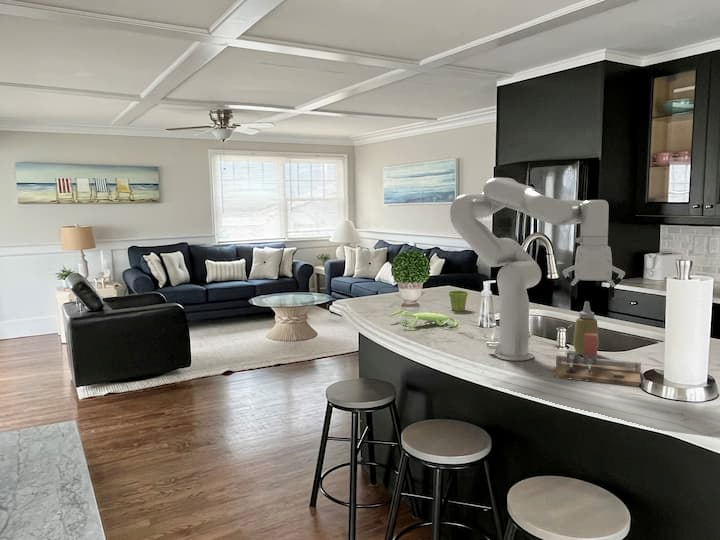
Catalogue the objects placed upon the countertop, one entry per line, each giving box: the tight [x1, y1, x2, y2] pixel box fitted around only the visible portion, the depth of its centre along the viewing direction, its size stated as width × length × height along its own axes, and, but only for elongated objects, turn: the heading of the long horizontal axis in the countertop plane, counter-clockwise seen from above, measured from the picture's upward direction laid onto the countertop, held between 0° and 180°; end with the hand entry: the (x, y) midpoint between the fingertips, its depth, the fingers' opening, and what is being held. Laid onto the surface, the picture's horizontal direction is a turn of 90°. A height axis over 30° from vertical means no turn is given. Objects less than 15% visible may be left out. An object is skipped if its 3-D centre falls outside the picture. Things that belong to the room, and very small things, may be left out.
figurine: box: [389, 310, 458, 331], centre depth 239 cm, size 18×27×6 cm
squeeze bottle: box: [572, 301, 600, 357], centre depth 187 cm, size 8×8×18 cm
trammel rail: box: [555, 350, 642, 373], centre depth 167 cm, size 24×9×4 cm, turn 66°
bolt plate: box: [553, 362, 642, 386], centre depth 167 cm, size 23×14×1 cm, turn 66°
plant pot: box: [448, 290, 469, 312], centre depth 267 cm, size 9×9×9 cm
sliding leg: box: [583, 333, 599, 373], centre depth 167 cm, size 4×9×10 cm, turn 156°
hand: (592, 298), depth 168 cm, fingers open, 9 cm apart
